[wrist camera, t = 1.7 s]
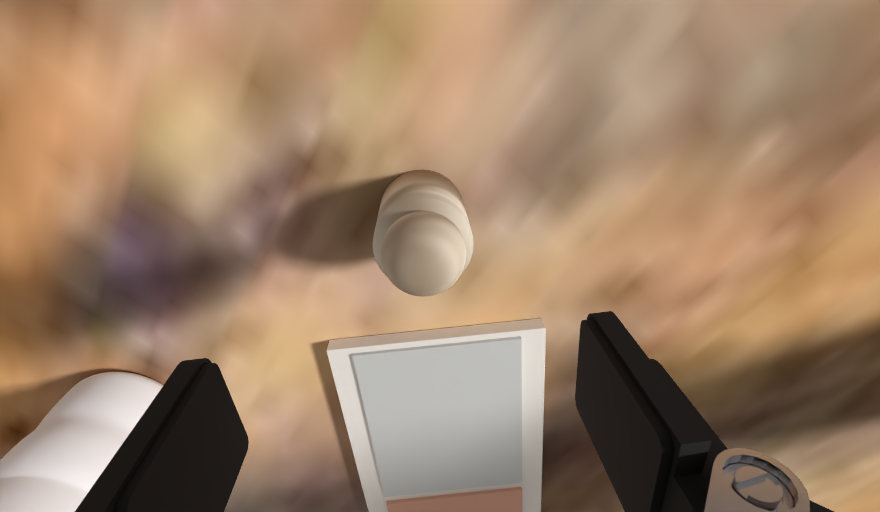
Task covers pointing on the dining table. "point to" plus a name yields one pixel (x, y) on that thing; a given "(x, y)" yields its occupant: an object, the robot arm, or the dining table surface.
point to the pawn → (422, 233)
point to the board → (446, 416)
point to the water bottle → (74, 443)
